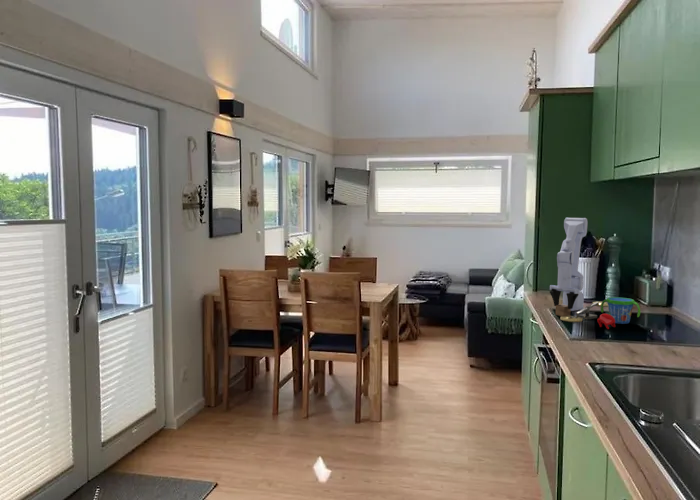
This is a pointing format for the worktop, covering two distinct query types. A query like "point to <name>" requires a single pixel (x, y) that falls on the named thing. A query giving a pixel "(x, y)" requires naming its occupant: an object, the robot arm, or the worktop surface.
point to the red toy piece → (606, 320)
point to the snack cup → (620, 309)
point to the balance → (580, 317)
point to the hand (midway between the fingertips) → (563, 307)
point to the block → (562, 310)
